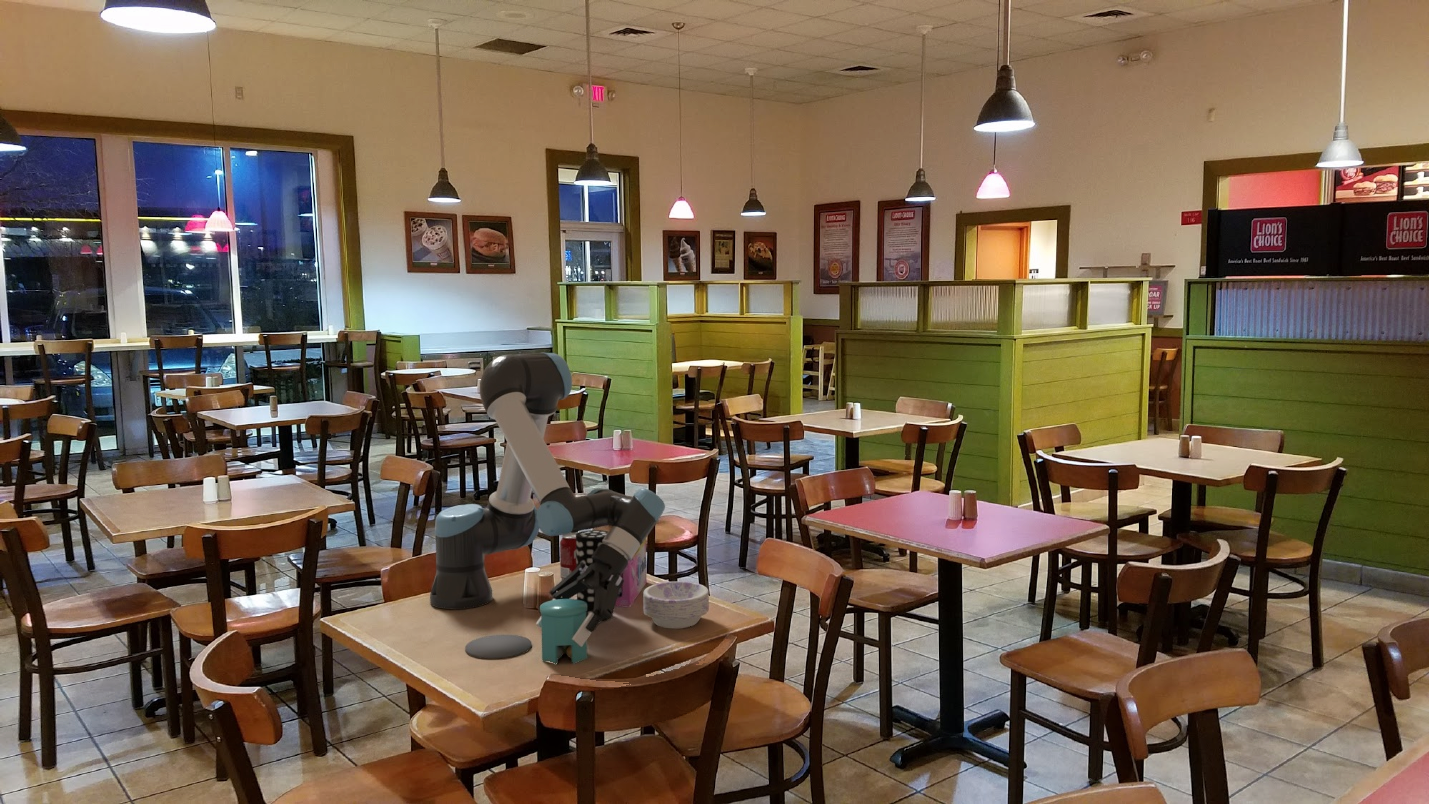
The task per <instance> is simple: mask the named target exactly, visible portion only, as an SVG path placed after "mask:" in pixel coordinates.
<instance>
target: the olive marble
mask: <svg viewBox="0 0 1429 804" xmlns="http://www.w3.org/2000/svg"><path fill="white" fill-rule="evenodd" d="M567 646H568V645H562V646H561V647H562V649H563V654H562V655H567V654H566V648H567Z"/></svg>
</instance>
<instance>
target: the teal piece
mask: <svg viewBox="0 0 1429 804" xmlns="http://www.w3.org/2000/svg"><path fill="white" fill-rule="evenodd" d="M586 611H587V603H586V602H584V601H581V600H577V598H570V599H557V600H552V599H551V600H548V601H545V602H543V603H542V604H540V606H539V613H540V615H541V616H540V617H541V625H542V629H541V661H542V660H543V661H542V662H544V661H550V662H553V663H555V664H556V663H558V662H559V661H558V660H559V659H558V653H557V646H562V645H572V658H571V663H572V662H573V663H574V664H577V663H579V662H581V661H584V660H586V659H588V644H587V643H588V642H587V641H588V639H587V640H586V641H585V643H584V644H583V646H582V647H581V646H579V645H578V644H577V643H576V642H575V641H573V640H572V638H573V636H574V635H575V634H576V632H577V631H578V629H579V628H580V626H581V625H582V623H583V622H584V620H585V619H586ZM578 661H579V662H578ZM576 662H577V663H576ZM573 663H572V664H573ZM555 664H554V665H555ZM556 665H557V664H556Z"/></svg>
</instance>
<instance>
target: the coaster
mask: <svg viewBox="0 0 1429 804" xmlns="http://www.w3.org/2000/svg"><path fill="white" fill-rule="evenodd" d="M464 647H465V648H464V650H465V653H466V654H467V655H468V656H470V657H473V658H477V659H483V660H501V659H507V658H512V657H517V656H520V655H522V654H525V653H526V651H527V650H528V651H529V650H530V649H531V648H532V641H531V639H530V638H527V637H525V636H522V635H519V634H517V635H516V634H506V633H505V634H502V633H501V634H492V635H485V636H481V637H478V638H476V639H473V640H471V641H469V642H468V643H466V645H465V646H464ZM528 651H527V652H528ZM524 652H525V653H524ZM519 654H520V655H519Z"/></svg>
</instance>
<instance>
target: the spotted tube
mask: <svg viewBox="0 0 1429 804" xmlns="http://www.w3.org/2000/svg"><path fill="white" fill-rule="evenodd" d="M608 532H609V531H608V530H601V529H588V530H581V531H578V532H576V533H577V534H576V568H577V566H578V565H579V564H580V563H581V562H583V563H584V564H585V565H586V566H588V567H589V566H590V565H591V564H592V562H593V560H592V555H593V553H594V552H595V551H596V549H597V548H598V546H599V545H600V544H603V542H602V540H603V539H604V537H605V536H606V535H607V533H608ZM583 581H584V580H583ZM576 599H577V600H581V601H584V602H586V603H587V611H586V617H587V616H588V615H589V613H592V614H594V613H593V612H592V611H593V610H594V601H595V590H591V589H588V590H583V591H581V592H579V593H578V594H576ZM607 611H608V609H607ZM612 617H613V615H612ZM606 621H609V620H608V619H607V618H606V619H604V620H601V621H600V623H601V622H606Z"/></svg>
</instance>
